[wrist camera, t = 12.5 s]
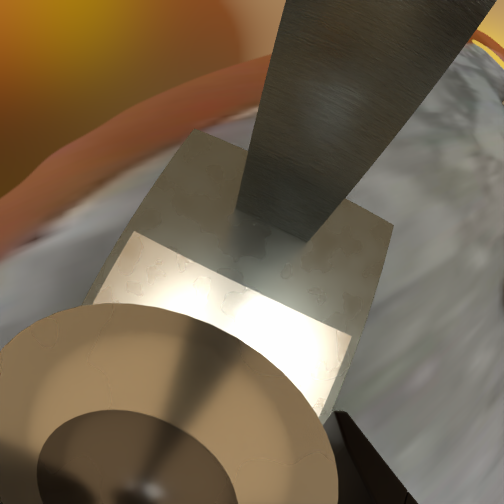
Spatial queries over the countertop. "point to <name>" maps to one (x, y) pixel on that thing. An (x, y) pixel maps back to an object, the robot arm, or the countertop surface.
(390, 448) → the countertop surface
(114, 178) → the countertop surface
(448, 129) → the countertop surface
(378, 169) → the countertop surface
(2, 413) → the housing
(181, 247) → the arbor press
